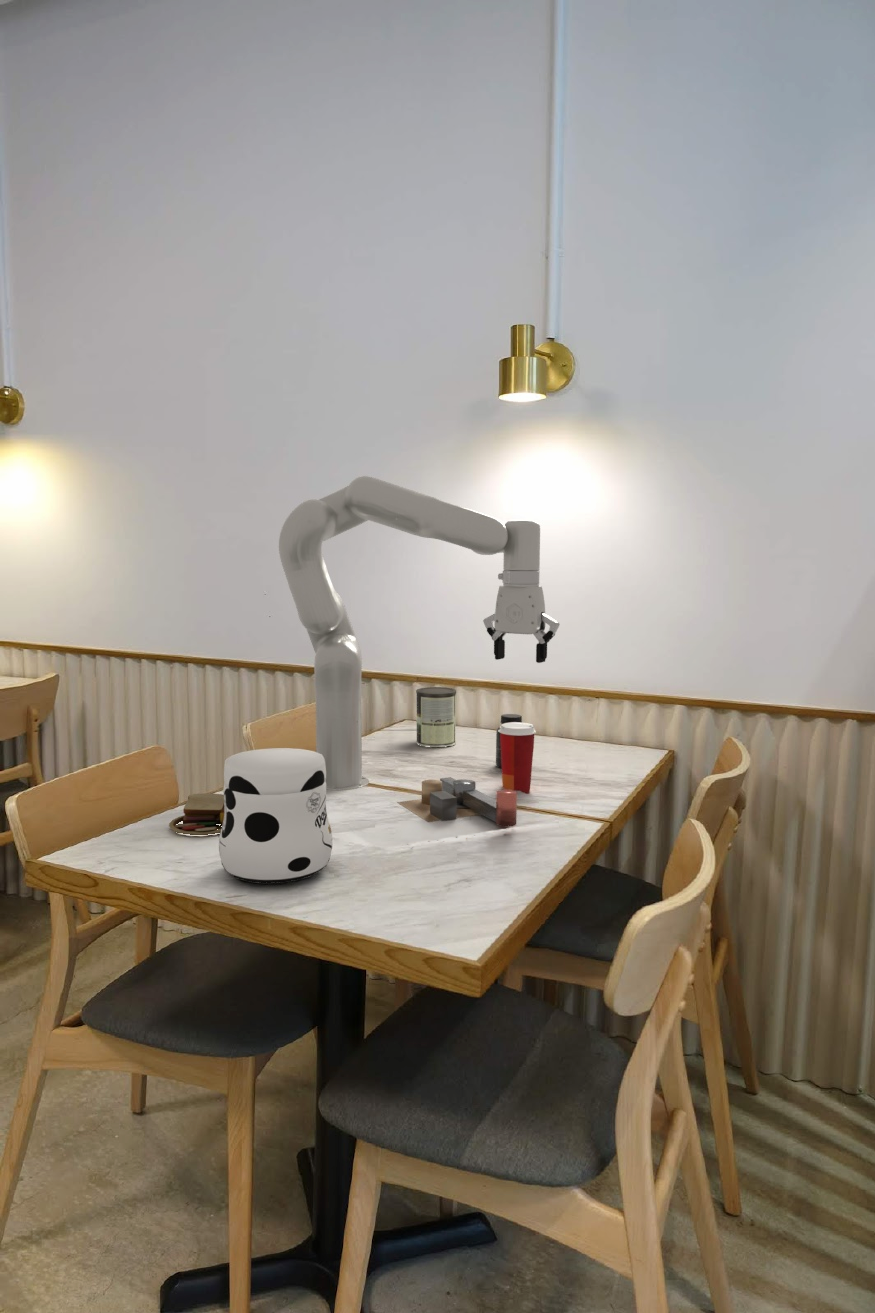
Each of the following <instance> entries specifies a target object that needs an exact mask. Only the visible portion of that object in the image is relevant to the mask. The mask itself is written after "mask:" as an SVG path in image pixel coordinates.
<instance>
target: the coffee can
mask: <svg viewBox="0 0 875 1313" xmlns="http://www.w3.org/2000/svg"><path fill="white" fill-rule="evenodd" d="M415 691H416V692H415V694H416V742H417V744H419V745H421V746H430V747H445V746H446V747H445V748H448V747H447V746H451V747H454V746H455V745H456V713H457V712H456V706H457V705H456V699H457V698H456V695H457V690H456V689H455V688H451V687H446V686H445V687H443V686H429V687H428V686H427V687H421V688H417V689H416V690H415ZM417 744H416V745H417ZM453 745H454V746H453ZM421 746H420V747H421Z"/></svg>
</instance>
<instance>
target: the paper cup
mask: <svg viewBox="0 0 875 1313" xmlns="http://www.w3.org/2000/svg"><path fill="white" fill-rule="evenodd" d="M501 725H502V726H501ZM501 725H500V726H499V727H500V729H499V730H498V732H500V739H501V763H502V768H501V779H502V788H503V789H509V790H514V791H516V792H518V791H520V792H521V793H524V794H526V795H528V794H529V793H530V792H531V782H532V773H533V772H532V770H533V756H534V748H535V747H534V746H535V734H536V733H537V731H536V729H535V726H534V724H532V723H529V722H528V723H527V722H522V723H521V722H510V723H504V724H501Z"/></svg>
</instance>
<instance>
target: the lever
mask: <svg viewBox="0 0 875 1313" xmlns="http://www.w3.org/2000/svg"><path fill="white" fill-rule="evenodd" d="M439 780H440V781H442V791H446V792H448V793H449V794H451V795H453V796H455V797H457V803H460V804H464V805H466V806H467V807H469V808H471V809H473V810H475V811H476V812H478V813H480V814H482V815H483V816H484V817H486V818H488V819H490V820H491V821H493V822H495V824H496V825H497V826H499V827H505V828H506V827H514V826H516V825H517V818H518V816H517V815H518V814H517V813H518V812H517V811H518V809H517V806H518V803H517V802H518V791H516V790H509V789H505V788H503V789H498V790H496V795H495V796H496V797H495V798H496V799H495V798H494V797H492V796H490V795H488V794H485V793H483V792H481V791H480V790H477V789H476V784H477V782H476V781H475V780H471V779H464V778H463V779H455V778H453V777H450V776H449V777H442V778H439Z"/></svg>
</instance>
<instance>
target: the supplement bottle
mask: <svg viewBox="0 0 875 1313" xmlns="http://www.w3.org/2000/svg"><path fill="white" fill-rule="evenodd" d="M522 716H523V715H521V714H515V713H504V714H501V715H500V724H501V725H500V726H502V724H504V723H510V722H521V723H523V717H522ZM500 726H498V728H496V732H495V734H496V735H495V765H496V767H497V768H499V769H502V763H501V739H500V732H498V730H499V729H500Z"/></svg>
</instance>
